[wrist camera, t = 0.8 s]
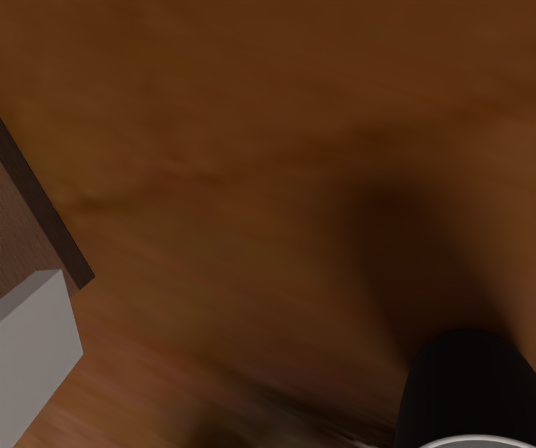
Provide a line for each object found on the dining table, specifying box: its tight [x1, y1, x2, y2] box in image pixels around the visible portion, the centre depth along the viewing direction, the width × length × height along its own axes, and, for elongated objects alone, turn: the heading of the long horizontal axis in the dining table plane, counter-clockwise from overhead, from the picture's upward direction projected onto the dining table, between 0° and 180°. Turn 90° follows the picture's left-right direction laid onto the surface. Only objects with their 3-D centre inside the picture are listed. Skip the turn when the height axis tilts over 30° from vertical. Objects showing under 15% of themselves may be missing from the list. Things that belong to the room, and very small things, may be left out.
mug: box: [393, 330, 536, 448], centre depth 29 cm, size 12×9×10 cm
